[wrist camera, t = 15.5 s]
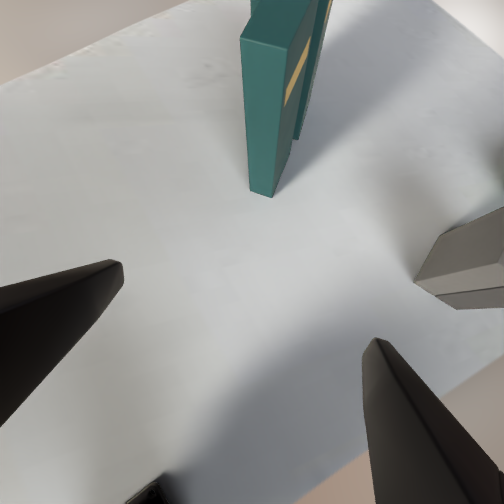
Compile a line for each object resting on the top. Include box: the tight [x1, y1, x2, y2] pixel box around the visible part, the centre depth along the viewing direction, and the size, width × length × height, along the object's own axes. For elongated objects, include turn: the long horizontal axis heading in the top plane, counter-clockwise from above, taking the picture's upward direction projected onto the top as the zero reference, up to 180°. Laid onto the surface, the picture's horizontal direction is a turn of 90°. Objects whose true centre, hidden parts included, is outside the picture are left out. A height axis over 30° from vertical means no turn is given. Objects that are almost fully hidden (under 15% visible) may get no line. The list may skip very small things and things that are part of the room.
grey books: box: [413, 207, 504, 310], centre depth 18 cm, size 6×4×8 cm
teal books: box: [251, 0, 333, 140], centre depth 20 cm, size 6×5×14 cm
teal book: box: [240, 0, 319, 198], centre depth 18 cm, size 6×2×14 cm, turn 159°
